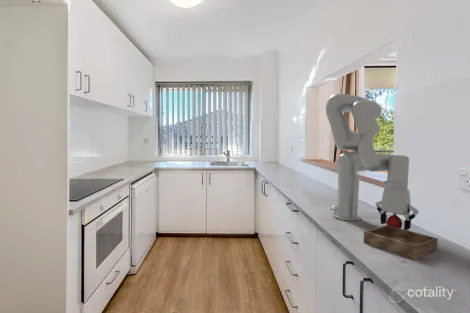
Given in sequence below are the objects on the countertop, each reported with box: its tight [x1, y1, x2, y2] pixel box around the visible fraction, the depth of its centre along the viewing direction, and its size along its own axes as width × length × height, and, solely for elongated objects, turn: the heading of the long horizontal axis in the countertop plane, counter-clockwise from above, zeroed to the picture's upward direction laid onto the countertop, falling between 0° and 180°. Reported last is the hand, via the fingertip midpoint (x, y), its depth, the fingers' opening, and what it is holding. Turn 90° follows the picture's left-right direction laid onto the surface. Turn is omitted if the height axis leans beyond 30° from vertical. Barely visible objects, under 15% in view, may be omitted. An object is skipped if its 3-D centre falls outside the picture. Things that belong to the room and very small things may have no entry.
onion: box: [386, 213, 403, 229], centre depth 127 cm, size 6×6×8 cm
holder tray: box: [362, 224, 439, 260], centre depth 111 cm, size 18×16×4 cm
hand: (394, 226), depth 127 cm, fingers open, 9 cm apart
